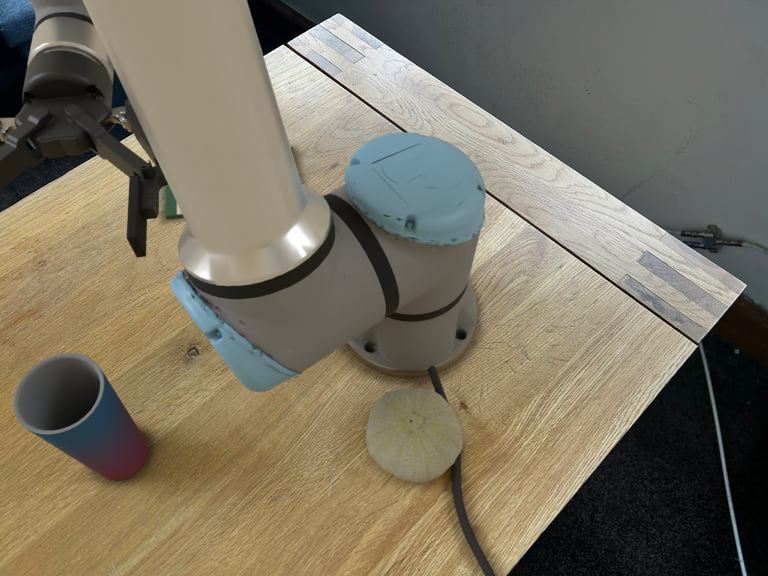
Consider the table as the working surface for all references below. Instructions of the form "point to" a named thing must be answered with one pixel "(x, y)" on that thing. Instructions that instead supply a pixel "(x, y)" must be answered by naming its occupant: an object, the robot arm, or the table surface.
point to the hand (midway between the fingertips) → (48, 258)
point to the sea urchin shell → (413, 434)
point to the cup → (80, 415)
